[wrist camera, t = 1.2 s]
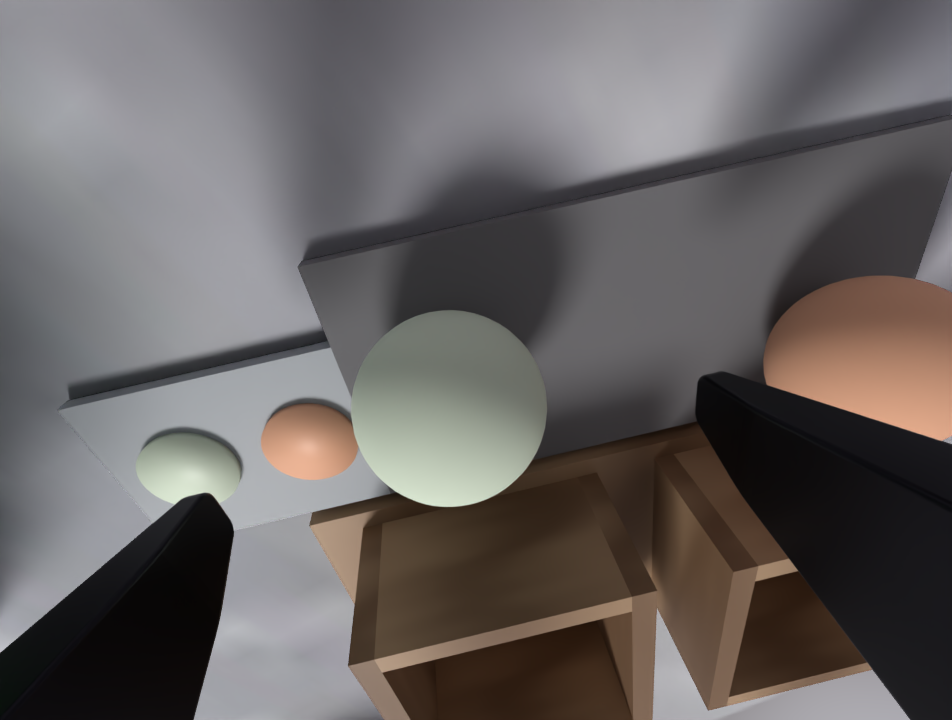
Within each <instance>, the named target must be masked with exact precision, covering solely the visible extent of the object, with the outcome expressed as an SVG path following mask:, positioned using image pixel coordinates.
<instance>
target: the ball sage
mask: <svg viewBox="0 0 952 720" xmlns="http://www.w3.org/2000/svg"><path fill="white" fill-rule="evenodd" d="M546 416H547V398H546V391H545V386H544V381H543V379H542V376H541V373H540V371H539V368H538V366H537V364H536V362H535V360H534V358H533V357H532V355H531V354H530V352H529V351H528V349H527V348H526V347H525V345H524V344H523V343H522V342H521V341H520V340H519V339H518V338H517V337H516V336H515V335H514V334H513V333H511V332H510V331H509V330H508V329H506V328H505V327H503V326H502V325H501V324H499V323H497V322H495V321H493V320H491V319H489V318H486V317H484V316H481V315H478V314H475V313H470V312H465V311H456V310H442V311H434V312H428V313H425V314H421V315H418V316H415V317H413V318H410V319H408V320H406V321H404V322H402V323H401V324H399V325H397V326H396V327H394V328H393V329H392V330H390V331H389V332H388V333H387V334H385V335H384V336H383V337H382V338H381V339H380V340H379V341H378V342H377V343H376V344H375V345H374V346H373V348H372V349H371V351H370V352H369V353H368V355H367V356H366V358H365V359H364V361H363V363H362V365H361V367H360V369H359V372H358V375H357V378H356V381H355V384H354V387H353V393H352V402H351V418H352V424H353V430H354V435H355V438H356V441H357V444H358V446H359V449H360V451H361V453H362V455H363V457H364V459H365V460H366V462H367V463H368V465H369V466H370V467H371V469H372V470H373V471H374V473H375V474H376V475H377V476H378V477H379V478H380V479H381V480H382V481H383V482H384V483H385V484H387V485H388V486H389V487H390V488H392V489H393V490H394V491H396V492H397V493H399V494H401V495H403V496H405V497H407V498H409V499H412V500H414V501H416V502H420V503H423V504H427V505H432V506H440V507H456V506H464V505H470V504H474V503H477V502H481V501H483V500H486V499H488V498H490V497H492V496H494V495H496V494H498V493H500V492H501V491H503V490H504V489H506V488H507V487H508V486H509V485H511V484H512V483H513V482H514V481H515V480H516V479H517V478H518V477H519V476H520V475H521V474H522V473H523V472H524V471H525V470H526V468H527V467H528V466H529V464H530V462H531V461H532V459H533V458H534V456H535V454H536V453H537V450H538V448H539V446H540V443H541V440H542V437H543V434H544V430H545V425H546Z"/></svg>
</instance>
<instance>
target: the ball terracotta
mask: <svg viewBox="0 0 952 720" xmlns="http://www.w3.org/2000/svg"><path fill="white" fill-rule="evenodd" d="M763 366H764V376H765V380H766V384H767V385H769V386H772V387H775V388H778V389H781V390H784V391H787V392H791V393H794V394H797V395H800V396H803V397H806V398H809V399H812V400H815V401H819V402H822V403H825V404H828V405H831V406H834V407H837V408H840V409H844V410H847V411H850V412H853V413H856V414H859V415H862V416H865V417H868V418H872V419H875V420H878V421H881V422H884V423H887V424H890V425H893V426H897V427H900V428H903V429H906V430H909V431H912V432H915V433H918V434H921V435H925V436H928V437H931V438H934V439H937V440H940V441H942V440H944V439H946V438H948V437H950V436H952V293H951V292H949V291H947V290H946V289H943V288H941V287H938V286H936V285H934V284H930V283H927V282H924V281H920V280H916V279H912V278H905V277H898V276H864V277H856V278H850V279H846V280H842V281H839V282H835V283H832V284H829V285H826V286H824V287H821V288H819V289H817V290H815V291H813V292H812V293H810V294H808V295H806V296H805V297H803V298H801V299H800V300H799V301H797V302H796V303H795V304H793V305H792V306H791V307H790V308H789V309H788V310H787V311H786V312H785V313H784V314H783V315H782V316H781V318H780V319H779V320H778V321H777V323H776V324H775V326H774V328H773V329H772V331H771V333H770V335H769V337H768V340H767V343H766V347H765V351H764V358H763Z"/></svg>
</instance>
